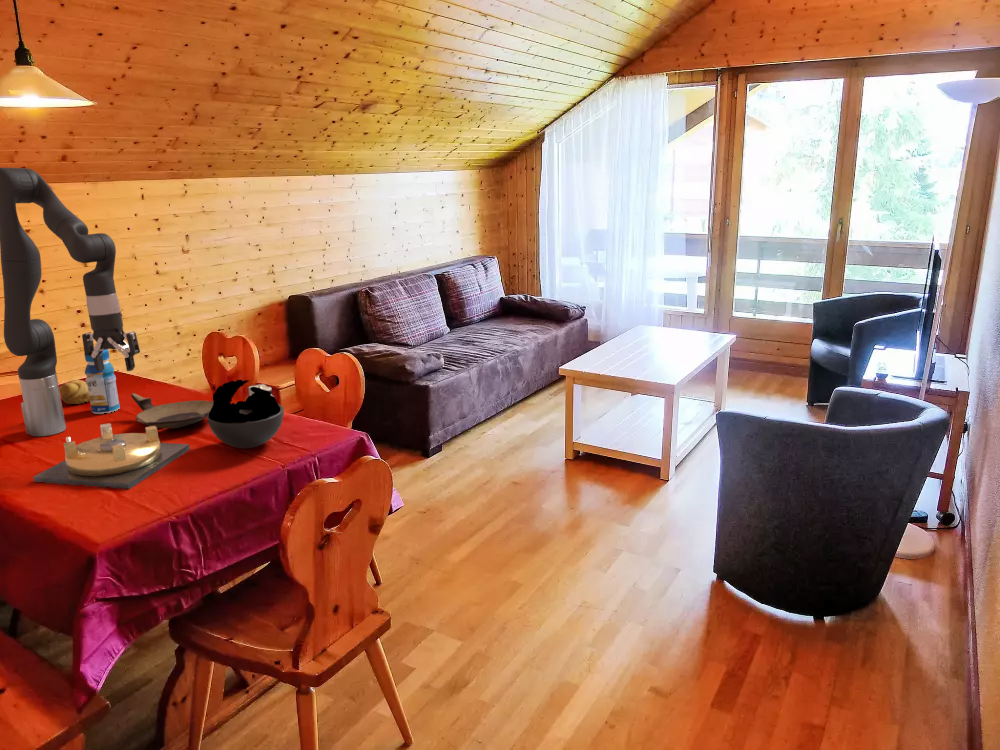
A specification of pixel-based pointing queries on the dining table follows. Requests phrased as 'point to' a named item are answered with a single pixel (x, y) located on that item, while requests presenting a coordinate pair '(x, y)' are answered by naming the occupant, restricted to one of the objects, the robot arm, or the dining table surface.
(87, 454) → the round brass tray
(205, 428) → the dining table surface
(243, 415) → the bowl of black rocks
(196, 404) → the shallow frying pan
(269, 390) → the pneumatic valve
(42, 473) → the base plate
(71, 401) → the bread roll
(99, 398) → the beverage bottle
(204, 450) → the dining table surface
